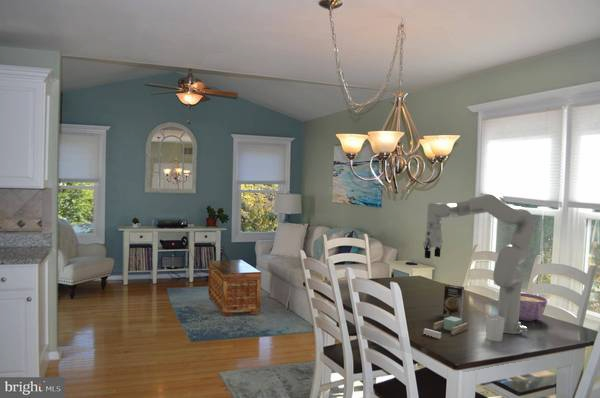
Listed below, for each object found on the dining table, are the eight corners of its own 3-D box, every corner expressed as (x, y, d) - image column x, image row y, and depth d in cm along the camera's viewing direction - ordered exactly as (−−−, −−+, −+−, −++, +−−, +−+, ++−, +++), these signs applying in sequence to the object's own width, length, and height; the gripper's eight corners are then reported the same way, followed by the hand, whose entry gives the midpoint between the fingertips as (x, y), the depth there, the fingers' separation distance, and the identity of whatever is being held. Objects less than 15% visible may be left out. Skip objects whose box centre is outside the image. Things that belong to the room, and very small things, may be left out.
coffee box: (442, 316, 262) (444, 286, 261) (445, 313, 268) (446, 283, 267) (460, 319, 258) (462, 288, 257) (462, 316, 264) (464, 286, 263)
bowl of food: (551, 326, 253) (552, 303, 252) (508, 322, 257) (510, 299, 256) (540, 315, 272) (541, 294, 272) (501, 312, 276) (502, 291, 276)
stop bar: (440, 338, 226) (441, 332, 225) (439, 338, 225) (439, 333, 224) (425, 333, 231) (425, 328, 231) (423, 334, 230) (423, 328, 230)
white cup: (488, 335, 233) (489, 314, 233) (505, 339, 228) (507, 317, 228) (482, 339, 227) (483, 317, 226) (500, 343, 222) (501, 321, 221)
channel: (467, 329, 241) (468, 323, 241) (453, 335, 231) (453, 328, 231) (448, 324, 248) (448, 318, 248) (433, 329, 238) (433, 323, 238)
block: (462, 329, 241) (462, 319, 241) (454, 331, 236) (455, 321, 236) (450, 326, 246) (451, 316, 245) (443, 328, 241) (443, 318, 241)
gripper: (431, 227, 261) (429, 259, 261) (448, 225, 272) (446, 257, 273) (419, 225, 266) (417, 257, 267) (436, 224, 278) (434, 255, 279)
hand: (432, 257), depth 270 cm, fingers open, 9 cm apart
